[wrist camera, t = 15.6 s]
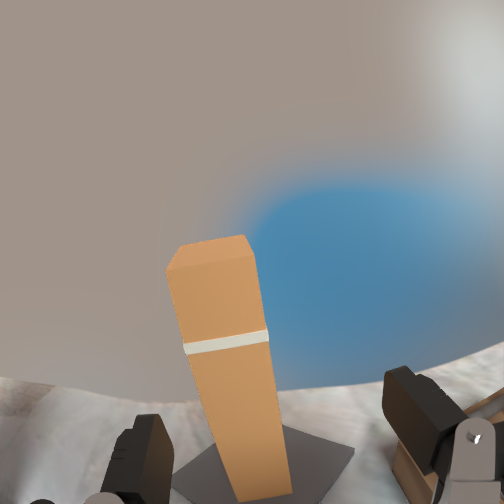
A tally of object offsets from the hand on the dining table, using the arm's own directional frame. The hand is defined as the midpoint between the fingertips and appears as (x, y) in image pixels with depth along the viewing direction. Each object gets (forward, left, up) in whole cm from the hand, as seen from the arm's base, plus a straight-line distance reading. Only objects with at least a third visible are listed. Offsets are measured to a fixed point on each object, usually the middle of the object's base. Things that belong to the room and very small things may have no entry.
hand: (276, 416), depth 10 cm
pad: (+5, +7, -14) cm, 17 cm away
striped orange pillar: (+5, +7, -14) cm, 16 cm away
